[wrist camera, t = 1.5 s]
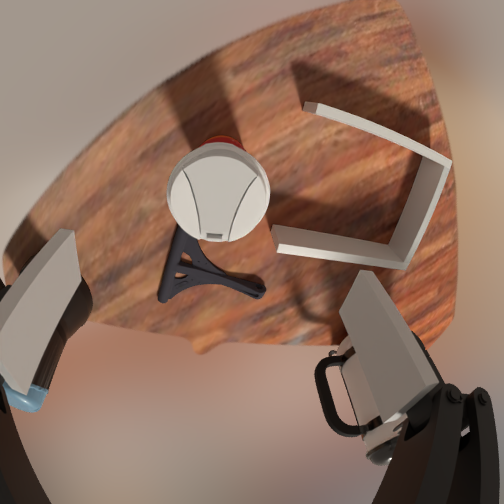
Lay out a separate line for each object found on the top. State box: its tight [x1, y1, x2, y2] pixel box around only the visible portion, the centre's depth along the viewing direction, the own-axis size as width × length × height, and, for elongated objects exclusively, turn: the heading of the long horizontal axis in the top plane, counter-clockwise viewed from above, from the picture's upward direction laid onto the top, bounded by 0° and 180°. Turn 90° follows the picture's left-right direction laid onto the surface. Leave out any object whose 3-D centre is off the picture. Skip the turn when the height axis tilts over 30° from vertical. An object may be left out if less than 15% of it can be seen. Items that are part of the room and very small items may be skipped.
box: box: [271, 102, 452, 270], centre depth 32 cm, size 20×17×5 cm
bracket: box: [158, 225, 266, 303], centre depth 39 cm, size 14×15×3 cm
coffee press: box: [314, 335, 408, 466], centre depth 38 cm, size 17×16×30 cm
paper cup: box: [167, 135, 270, 242], centre depth 25 cm, size 8×8×14 cm
